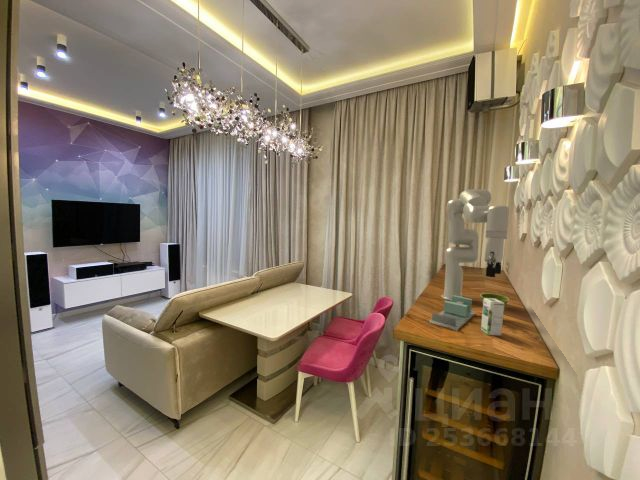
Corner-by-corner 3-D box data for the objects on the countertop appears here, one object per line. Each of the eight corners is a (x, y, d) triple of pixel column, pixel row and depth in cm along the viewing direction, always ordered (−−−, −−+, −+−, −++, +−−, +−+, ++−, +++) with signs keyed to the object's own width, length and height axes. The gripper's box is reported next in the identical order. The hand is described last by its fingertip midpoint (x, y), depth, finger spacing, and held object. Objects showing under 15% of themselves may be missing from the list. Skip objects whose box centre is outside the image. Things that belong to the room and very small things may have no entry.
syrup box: (480, 329, 118) (482, 297, 116) (493, 329, 117) (496, 298, 116) (487, 335, 112) (490, 302, 111) (502, 335, 112) (505, 302, 110)
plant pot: (473, 314, 135) (474, 293, 134) (494, 314, 136) (496, 292, 135) (490, 324, 123) (491, 301, 122) (513, 323, 124) (515, 300, 123)
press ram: (451, 305, 143) (452, 294, 142) (472, 310, 136) (473, 299, 135) (443, 311, 134) (444, 299, 134) (465, 316, 127) (466, 304, 127)
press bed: (450, 308, 144) (450, 300, 144) (474, 314, 136) (475, 305, 135) (429, 322, 124) (430, 313, 124) (456, 330, 116) (457, 320, 116)
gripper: (491, 234, 120) (488, 271, 122) (480, 235, 108) (477, 276, 110) (511, 235, 115) (508, 273, 116) (502, 236, 103) (498, 279, 104)
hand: (493, 275), depth 113 cm, fingers open, 9 cm apart
